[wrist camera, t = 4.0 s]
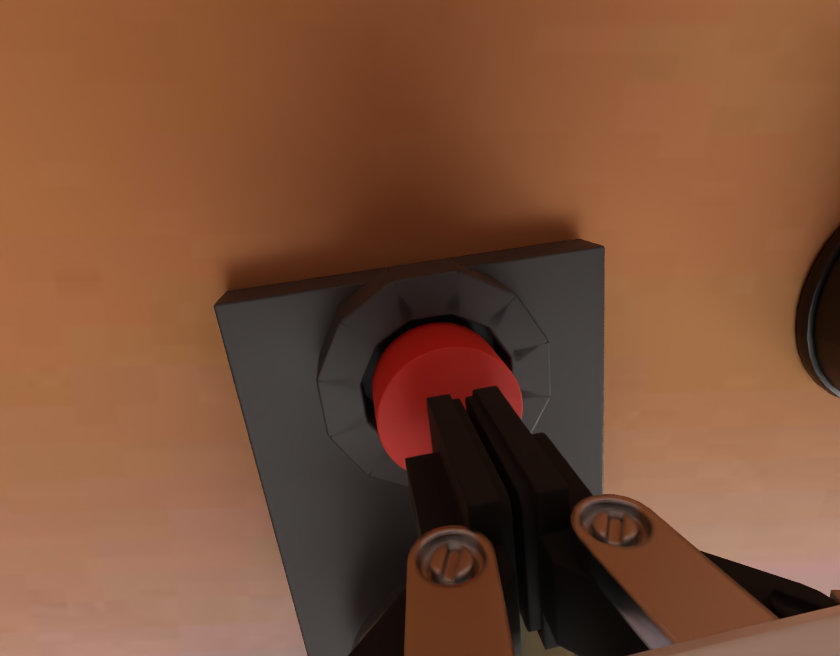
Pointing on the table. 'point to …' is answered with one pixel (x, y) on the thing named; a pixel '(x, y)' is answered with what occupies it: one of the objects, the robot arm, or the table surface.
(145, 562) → the table surface
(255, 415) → the base
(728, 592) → the robot arm
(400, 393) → the power button
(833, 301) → the french press
